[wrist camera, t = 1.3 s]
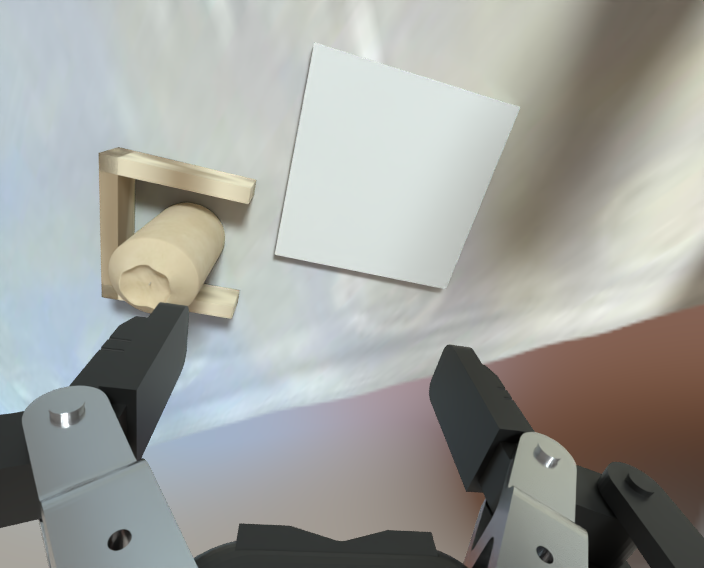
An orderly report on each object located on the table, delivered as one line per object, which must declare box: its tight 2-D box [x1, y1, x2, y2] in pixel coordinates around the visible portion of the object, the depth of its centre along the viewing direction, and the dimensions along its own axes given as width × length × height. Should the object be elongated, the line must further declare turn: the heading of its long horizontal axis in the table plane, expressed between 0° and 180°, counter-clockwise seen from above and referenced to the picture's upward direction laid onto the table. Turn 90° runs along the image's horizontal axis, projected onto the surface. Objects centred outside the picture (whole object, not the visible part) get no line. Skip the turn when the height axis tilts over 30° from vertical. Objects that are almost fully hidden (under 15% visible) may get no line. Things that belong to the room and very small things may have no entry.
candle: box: [108, 203, 225, 313], centre depth 28 cm, size 6×6×10 cm
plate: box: [275, 42, 520, 289], centre depth 31 cm, size 16×16×1 cm
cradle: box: [99, 147, 256, 319], centre depth 31 cm, size 10×11×3 cm
